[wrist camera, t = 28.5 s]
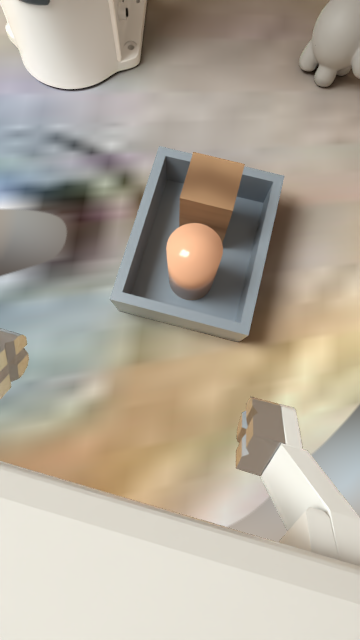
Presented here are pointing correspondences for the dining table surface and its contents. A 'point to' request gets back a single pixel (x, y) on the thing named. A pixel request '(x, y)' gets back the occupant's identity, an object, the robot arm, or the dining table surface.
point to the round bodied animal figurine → (334, 42)
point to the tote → (235, 266)
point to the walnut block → (210, 192)
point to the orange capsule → (193, 260)
